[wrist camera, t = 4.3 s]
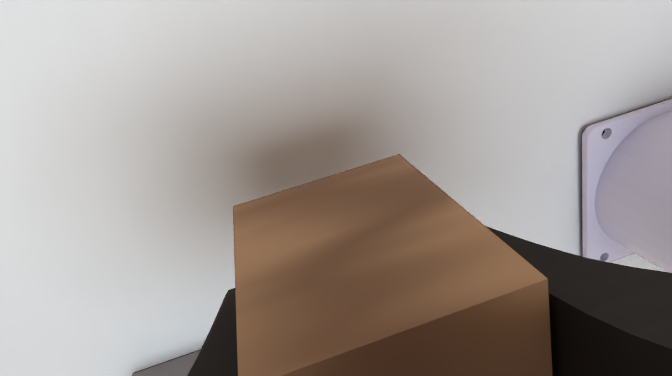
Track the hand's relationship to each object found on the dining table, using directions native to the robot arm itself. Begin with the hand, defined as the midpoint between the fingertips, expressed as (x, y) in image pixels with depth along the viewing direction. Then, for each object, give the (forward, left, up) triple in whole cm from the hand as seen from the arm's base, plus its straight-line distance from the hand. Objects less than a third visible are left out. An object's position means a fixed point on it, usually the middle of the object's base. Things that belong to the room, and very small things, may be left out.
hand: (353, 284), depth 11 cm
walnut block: (0, 0, -2) cm, 2 cm away
